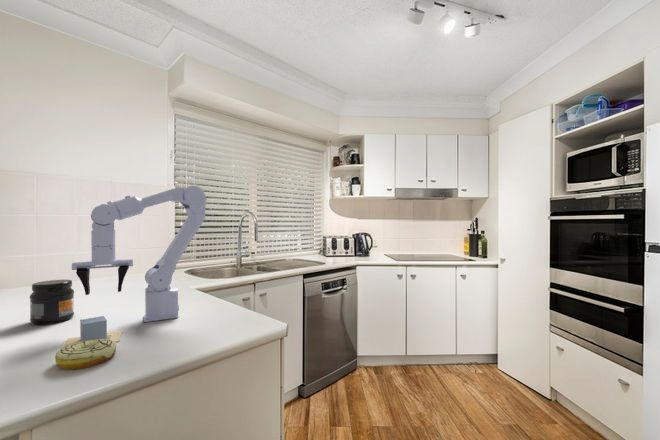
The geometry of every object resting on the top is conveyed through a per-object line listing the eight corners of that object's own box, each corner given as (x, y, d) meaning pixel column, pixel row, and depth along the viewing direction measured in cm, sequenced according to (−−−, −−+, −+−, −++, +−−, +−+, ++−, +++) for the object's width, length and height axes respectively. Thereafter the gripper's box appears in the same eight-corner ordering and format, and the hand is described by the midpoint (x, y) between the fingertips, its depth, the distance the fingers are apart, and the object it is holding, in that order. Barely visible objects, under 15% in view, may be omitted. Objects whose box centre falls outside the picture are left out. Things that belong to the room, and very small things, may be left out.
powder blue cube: (103, 334, 87) (103, 315, 87) (106, 339, 83) (106, 320, 83) (80, 339, 83) (80, 319, 83) (82, 344, 80) (82, 324, 80)
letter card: (122, 331, 90) (122, 330, 90) (119, 341, 82) (119, 340, 82) (67, 339, 84) (67, 338, 84) (59, 351, 76) (59, 350, 76)
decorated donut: (121, 360, 71) (121, 343, 71) (58, 377, 63) (58, 358, 63) (110, 347, 78) (110, 332, 78) (52, 361, 71) (52, 344, 71)
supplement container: (82, 315, 105) (82, 279, 105) (51, 326, 95) (51, 285, 95) (53, 315, 106) (53, 278, 107) (19, 325, 96) (19, 285, 96)
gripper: (133, 244, 101) (133, 287, 101) (75, 246, 94) (75, 292, 94) (132, 245, 95) (132, 291, 95) (69, 248, 88) (70, 297, 88)
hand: (103, 292), depth 94 cm, fingers open, 7 cm apart
